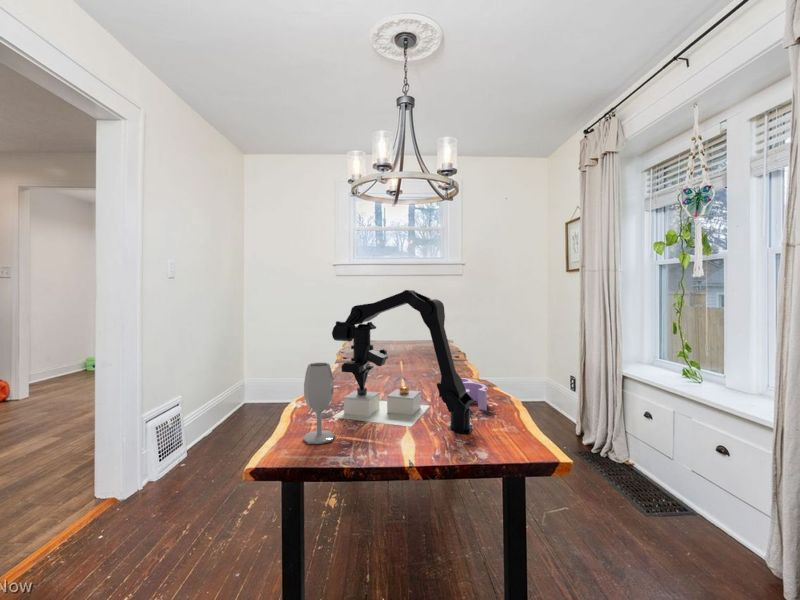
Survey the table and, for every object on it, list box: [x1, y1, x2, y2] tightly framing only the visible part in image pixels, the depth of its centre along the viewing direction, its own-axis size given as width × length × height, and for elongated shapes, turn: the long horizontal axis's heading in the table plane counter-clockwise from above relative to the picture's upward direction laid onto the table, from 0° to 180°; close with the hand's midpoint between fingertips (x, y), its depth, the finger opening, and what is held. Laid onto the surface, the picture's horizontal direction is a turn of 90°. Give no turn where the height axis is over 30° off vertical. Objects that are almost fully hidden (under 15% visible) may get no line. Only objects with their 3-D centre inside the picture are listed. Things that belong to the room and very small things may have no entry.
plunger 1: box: [356, 386, 368, 396], centre depth 129 cm, size 7×7×7 cm
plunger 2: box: [399, 385, 410, 394], centre depth 130 cm, size 7×7×7 cm
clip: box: [460, 377, 488, 411], centre depth 142 cm, size 20×12×7 cm, turn 10°
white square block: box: [343, 389, 380, 417], centre depth 130 cm, size 10×9×6 cm
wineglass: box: [303, 362, 336, 445], centre depth 107 cm, size 9×9×21 cm
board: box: [332, 400, 430, 428], centre depth 130 cm, size 22×27×1 cm
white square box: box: [386, 388, 422, 416], centre depth 131 cm, size 10×9×6 cm
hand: (362, 388), depth 129 cm, fingers closed, pressing on plunger 1
